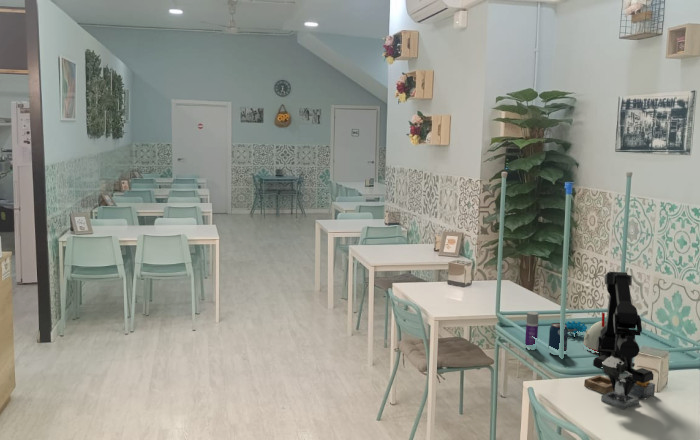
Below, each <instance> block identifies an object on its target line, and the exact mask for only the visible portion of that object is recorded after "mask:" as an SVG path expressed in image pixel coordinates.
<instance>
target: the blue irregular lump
mask: <svg viewBox="0 0 700 440" xmlns="http://www.w3.org/2000/svg"><path fill="white" fill-rule="evenodd" d="M565 325H566V326H567V329H568V333H569V332H572V334H573V333H575V334H576V332H577V331H578V333H580V332H583V333H584V332H585V333H586V330H588V326H587V325H586V324H585V323H581V321H577V322H576V321H574V320H571V322H570V321H569V320H568V321H567V322H566V323H565ZM579 331H580V332H579ZM576 335H577V334H576Z"/></svg>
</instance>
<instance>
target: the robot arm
mask: <svg viewBox="0 0 700 440" xmlns="http://www.w3.org/2000/svg"><path fill="white" fill-rule="evenodd" d="M632 281H633V275H630V274H628V272H621V271H620V272H619V271H608V272H607V273H606V274H604V284H605V287H606V292H607V293H608V294H609V296H608V303H607V304H608V305H607V312H606V320H605V322H606V326H605V327H604V328H603V329H602V330H601V331H600V336H598V339H597V343H596V349H597V352H599V354H598V356H596V357H595V358H594V359H593V360H592V361H593V362H592V365H593V367H594V368H595V367H596V368H599V369H602V368H601V367H603V369H602V371H603V373H605V374H606V375H608V378H609V379H610V381H611V384H612V387H613V391H614V392H615V379H617V378H620V375H621V374H623V373H626V374H628V375H627V376H625V377H623V379H625V381H626V384H625V396H627V395H628V394H629V392H630V391H631V389H632V387H633V386H634V384H635V383H636V382H637V381H638V382H641V383H645V382H648V381H650V382H651V381H653V380H654V373H653V371H652V370H650V369H646V368H643V367H641V368H638V369H635V368H634V367H635V365H636V363H634V362H633V361H634V358H635V357H637V356H638V355H639V353H640V345H639V344H638V342H637V340H636V336H641V333H642V331H643V329H642V327H643V326H642V318H641V317H640V314H638V309H637V307H636V306H634V305H633V303H632V302H633V301H632V296H631V287H632V286H633V285H632V283H633V282H632ZM613 391H612V392H613Z"/></svg>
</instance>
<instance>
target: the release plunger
mask: <svg viewBox="0 0 700 440" xmlns="http://www.w3.org/2000/svg"><path fill="white" fill-rule="evenodd" d="M649 382H650V383H651V381H648V382H645V383H641V382H638V381H637V384H639V385H642V386H646V385H647V383H649Z"/></svg>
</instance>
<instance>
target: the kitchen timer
mask: <svg viewBox="0 0 700 440" xmlns="http://www.w3.org/2000/svg"><path fill="white" fill-rule="evenodd" d="M605 318H606V313H605V312H601V320H600V321H597V322H595V323H593V325H591V327H590V328H588V329H586V332H585V334H584V338H583V344H584V345H585V346H586V347H588V348H589V349H592V350H594V351H597V349H596V343H597V339H598V336H600V331H601V330H602V329H603V328H604V327H605V326H606V320H605Z"/></svg>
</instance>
